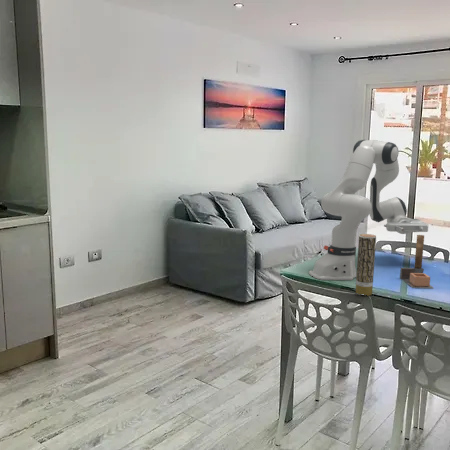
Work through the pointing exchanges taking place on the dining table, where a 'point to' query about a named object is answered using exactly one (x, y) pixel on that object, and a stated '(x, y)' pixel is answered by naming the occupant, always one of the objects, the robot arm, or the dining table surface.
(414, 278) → the collar
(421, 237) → the dowel
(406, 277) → the rail
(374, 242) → the bark textured cylinder
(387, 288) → the dining table surface
